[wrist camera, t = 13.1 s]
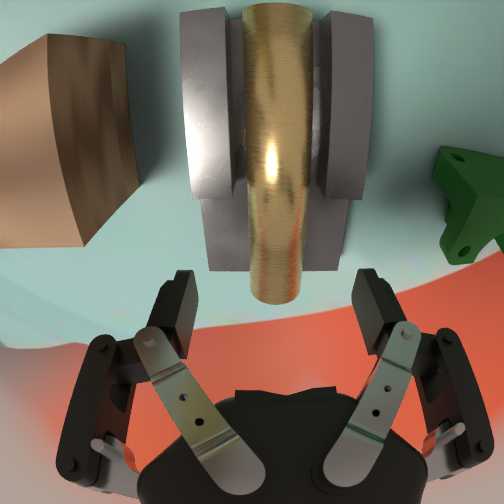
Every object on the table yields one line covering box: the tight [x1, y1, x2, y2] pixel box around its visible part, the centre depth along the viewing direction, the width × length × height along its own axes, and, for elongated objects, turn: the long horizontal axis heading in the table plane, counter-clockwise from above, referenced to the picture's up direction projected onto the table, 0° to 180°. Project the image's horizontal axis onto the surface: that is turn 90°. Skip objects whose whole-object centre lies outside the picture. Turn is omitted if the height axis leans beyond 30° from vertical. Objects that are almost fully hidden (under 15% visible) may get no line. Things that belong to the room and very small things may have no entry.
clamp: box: [433, 147, 504, 265], centre depth 14 cm, size 12×6×9 cm, turn 88°
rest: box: [180, 7, 374, 271], centre depth 14 cm, size 16×9×4 cm, turn 1°
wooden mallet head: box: [0, 34, 140, 249], centre depth 11 cm, size 10×10×8 cm
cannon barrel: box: [242, 3, 313, 305], centre depth 13 cm, size 16×3×3 cm, turn 1°
